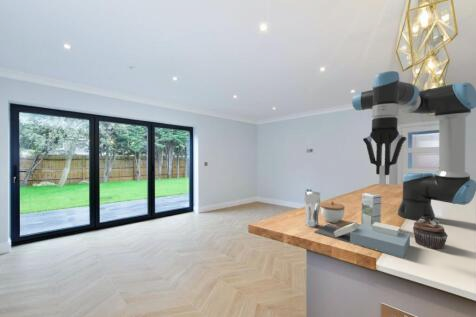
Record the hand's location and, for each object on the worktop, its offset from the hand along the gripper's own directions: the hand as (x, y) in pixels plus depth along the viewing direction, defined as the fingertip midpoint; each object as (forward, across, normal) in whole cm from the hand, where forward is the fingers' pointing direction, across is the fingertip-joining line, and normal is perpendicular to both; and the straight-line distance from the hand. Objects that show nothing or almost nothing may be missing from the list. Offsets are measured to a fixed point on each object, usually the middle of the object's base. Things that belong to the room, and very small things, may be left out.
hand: (382, 183), depth 78 cm
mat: (+23, -16, +1) cm, 27 cm away
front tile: (+20, -10, -2) cm, 23 cm away
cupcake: (+23, +12, +14) cm, 30 cm away
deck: (+23, -1, +1) cm, 23 cm away
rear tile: (+19, 0, +5) cm, 19 cm away
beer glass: (+23, -28, +2) cm, 36 cm away
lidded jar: (+23, -24, +15) cm, 36 cm away
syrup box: (+23, -8, +22) cm, 33 cm away
